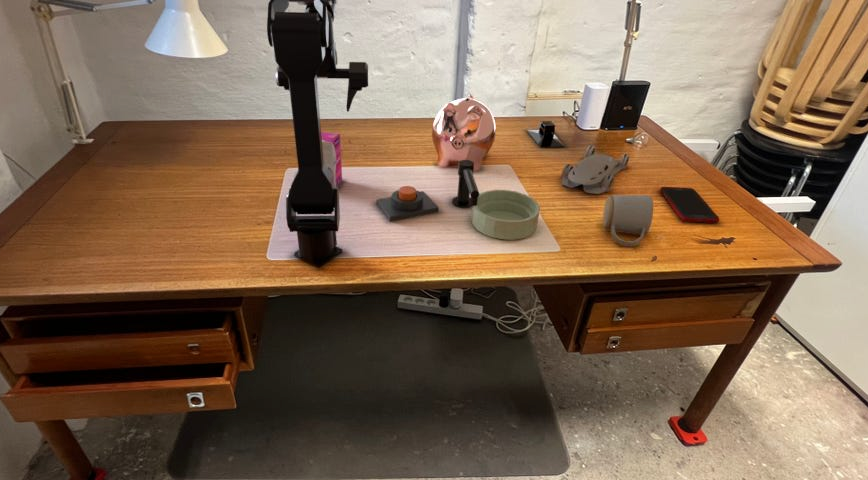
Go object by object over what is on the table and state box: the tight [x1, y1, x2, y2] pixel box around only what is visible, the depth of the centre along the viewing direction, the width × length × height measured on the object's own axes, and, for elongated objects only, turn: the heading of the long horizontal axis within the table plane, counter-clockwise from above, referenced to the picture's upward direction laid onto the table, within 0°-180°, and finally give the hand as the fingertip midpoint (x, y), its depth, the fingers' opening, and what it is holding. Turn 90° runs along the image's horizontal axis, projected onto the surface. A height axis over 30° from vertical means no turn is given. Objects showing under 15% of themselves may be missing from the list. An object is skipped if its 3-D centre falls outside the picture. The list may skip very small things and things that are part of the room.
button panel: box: [375, 189, 439, 222], centre depth 107 cm, size 11×8×3 cm
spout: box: [457, 160, 480, 206], centre depth 102 cm, size 14×3×3 cm, turn 4°
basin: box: [470, 189, 541, 241], centre depth 103 cm, size 13×13×4 cm
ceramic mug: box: [602, 194, 654, 248], centre depth 100 cm, size 11×8×8 cm
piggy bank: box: [431, 93, 497, 172], centre depth 124 cm, size 15×18×16 cm
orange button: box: [398, 185, 417, 201], centre depth 106 cm, size 4×4×2 cm
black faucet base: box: [451, 175, 472, 209], centre depth 109 cm, size 5×5×6 cm
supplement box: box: [321, 131, 343, 188], centre depth 113 cm, size 6×6×12 cm
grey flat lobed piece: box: [561, 145, 630, 195], centre depth 122 cm, size 11×24×5 cm, turn 146°
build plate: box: [526, 120, 566, 149], centre depth 141 cm, size 12×7×5 cm, turn 7°
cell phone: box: [659, 186, 720, 224], centre depth 112 cm, size 8×15×1 cm, turn 177°
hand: (326, 110), depth 112 cm, fingers open, 9 cm apart
